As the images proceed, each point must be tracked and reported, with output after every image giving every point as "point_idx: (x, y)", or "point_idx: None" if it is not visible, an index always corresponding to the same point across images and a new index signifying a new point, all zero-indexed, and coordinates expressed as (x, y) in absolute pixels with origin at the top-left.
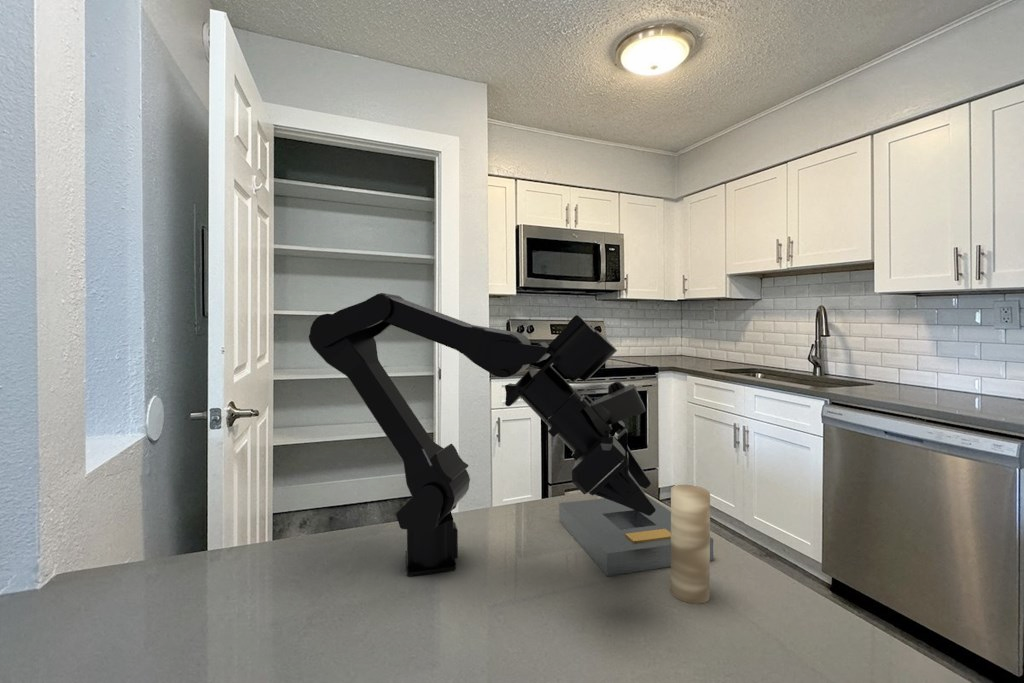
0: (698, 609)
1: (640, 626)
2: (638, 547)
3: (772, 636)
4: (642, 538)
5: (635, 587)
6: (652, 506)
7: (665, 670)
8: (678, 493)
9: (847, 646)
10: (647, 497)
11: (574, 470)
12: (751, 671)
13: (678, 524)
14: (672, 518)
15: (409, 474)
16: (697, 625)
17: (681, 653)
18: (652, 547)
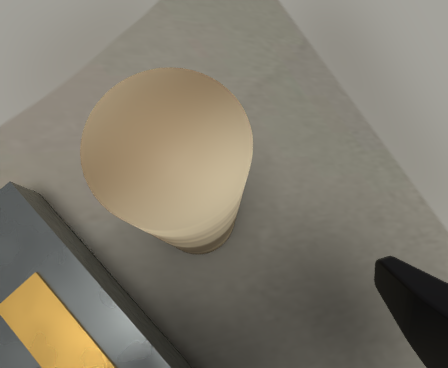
0: None
1: (348, 279)
2: (144, 350)
3: (255, 90)
4: (90, 354)
5: (226, 324)
6: (411, 266)
7: (427, 216)
8: (232, 183)
9: (225, 8)
10: (435, 293)
11: None
12: (354, 112)
13: (237, 207)
14: (217, 229)
15: None
16: (289, 191)
17: (376, 202)
18: (125, 314)
